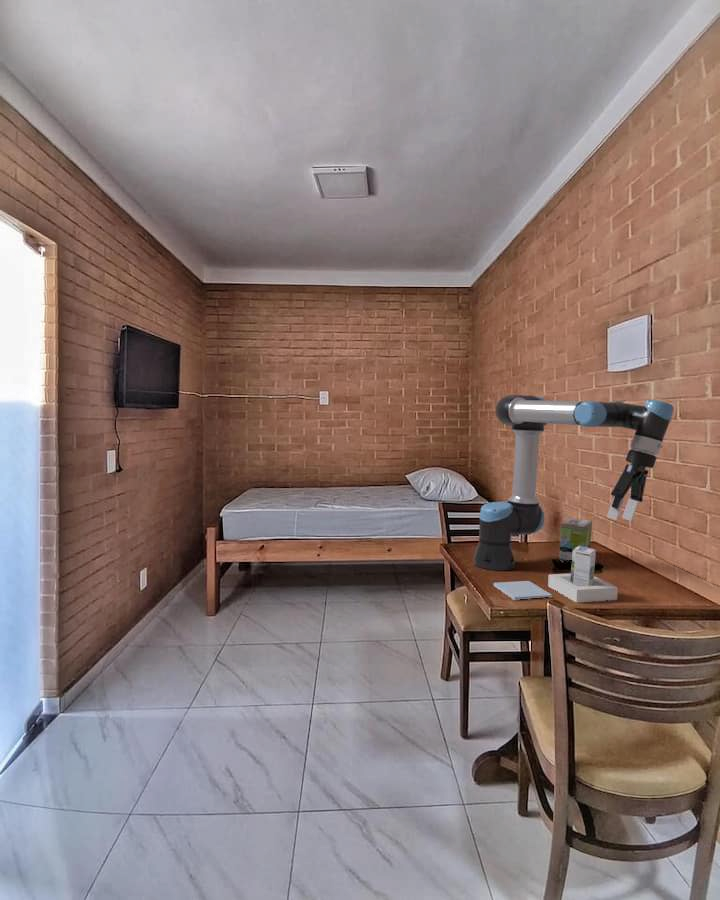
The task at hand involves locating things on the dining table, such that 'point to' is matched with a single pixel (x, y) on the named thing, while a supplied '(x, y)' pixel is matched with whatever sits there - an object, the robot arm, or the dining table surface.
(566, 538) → the tea box
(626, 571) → the dining table surface
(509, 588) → the board
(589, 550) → the syrup box
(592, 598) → the white tray
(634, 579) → the dining table surface
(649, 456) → the robot arm
